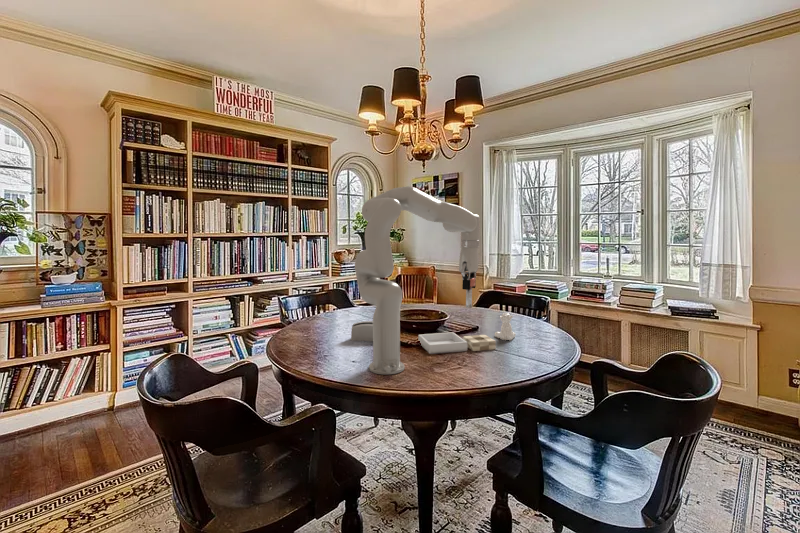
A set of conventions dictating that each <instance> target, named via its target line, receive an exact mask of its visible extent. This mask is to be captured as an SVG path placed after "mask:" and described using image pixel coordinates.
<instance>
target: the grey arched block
mask: <svg viewBox="0 0 800 533" xmlns="http://www.w3.org/2000/svg"><path fill="white" fill-rule="evenodd" d="M350 335H351V336H350V341H352V342H362V341H363V342H373V320H364V321H359V322H355V323H353V325H352V326H351V334H350Z"/></svg>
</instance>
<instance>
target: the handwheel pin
mask: <svg viewBox="0 0 800 533" xmlns="http://www.w3.org/2000/svg"><path fill="white" fill-rule="evenodd" d="M476 279H477V278H475V277H470V279H469V280H470V290H466V291H465V308H467V309H468V308H470V309H471V308H472V307H473V306H472V304H473V288H472V286H475V280H476Z"/></svg>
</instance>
